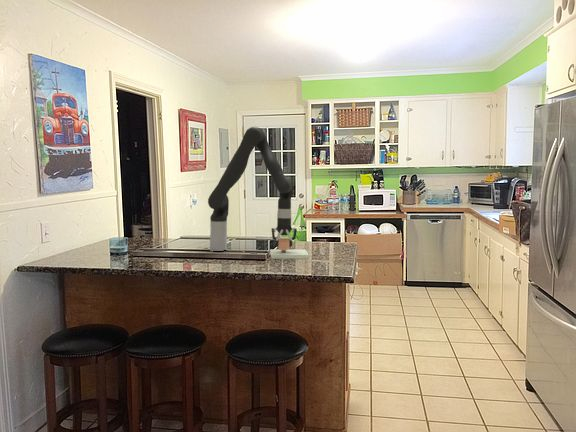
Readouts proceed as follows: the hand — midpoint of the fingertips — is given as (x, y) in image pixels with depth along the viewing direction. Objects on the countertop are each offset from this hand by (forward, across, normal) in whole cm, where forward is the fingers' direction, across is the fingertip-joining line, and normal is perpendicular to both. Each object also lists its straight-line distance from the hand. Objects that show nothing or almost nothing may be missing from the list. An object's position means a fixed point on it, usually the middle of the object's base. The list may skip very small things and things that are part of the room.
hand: (283, 247), depth 261 cm
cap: (+1, 0, 0) cm, 1 cm away
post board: (+5, +3, 0) cm, 6 cm away
